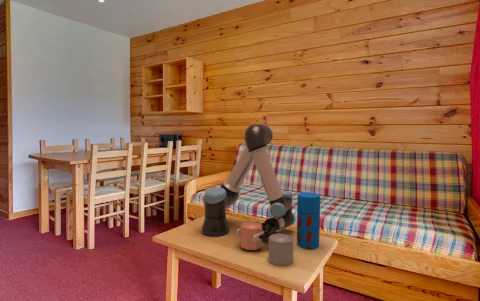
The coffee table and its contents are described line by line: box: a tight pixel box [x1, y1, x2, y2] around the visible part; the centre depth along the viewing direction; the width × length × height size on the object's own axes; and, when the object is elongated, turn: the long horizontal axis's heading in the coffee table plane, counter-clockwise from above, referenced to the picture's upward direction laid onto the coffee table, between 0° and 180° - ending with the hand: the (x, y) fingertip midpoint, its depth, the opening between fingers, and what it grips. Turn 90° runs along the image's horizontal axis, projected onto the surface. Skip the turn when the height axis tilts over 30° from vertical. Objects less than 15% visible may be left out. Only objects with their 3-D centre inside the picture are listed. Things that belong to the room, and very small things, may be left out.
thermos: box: [296, 192, 321, 250], centre depth 143 cm, size 11×11×25 cm
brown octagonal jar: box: [267, 233, 294, 267], centre depth 127 cm, size 10×10×10 cm
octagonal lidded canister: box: [240, 221, 263, 251], centre depth 140 cm, size 10×10×10 cm
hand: (245, 235), depth 137 cm, fingers closed on octagonal lidded canister, 10 cm apart
